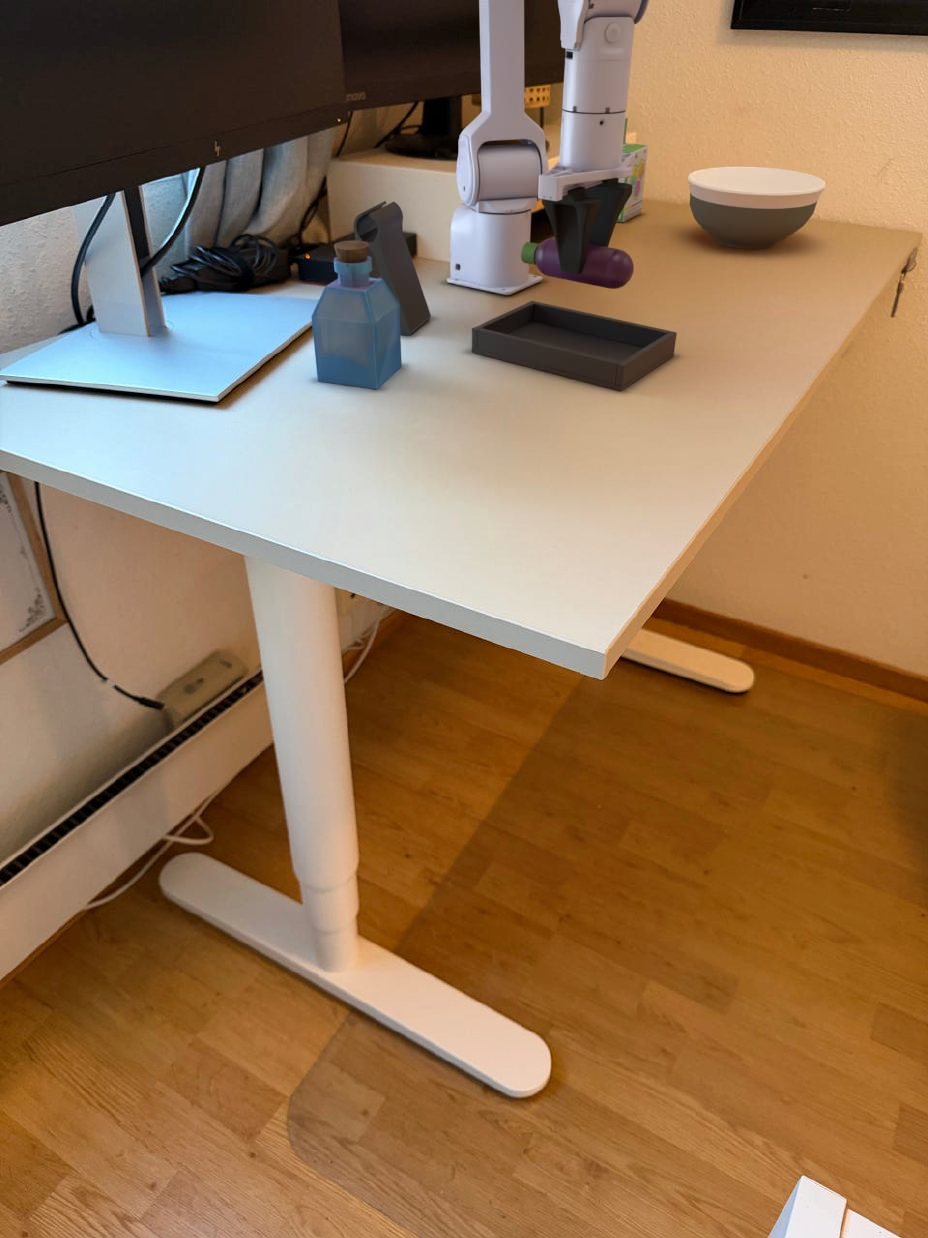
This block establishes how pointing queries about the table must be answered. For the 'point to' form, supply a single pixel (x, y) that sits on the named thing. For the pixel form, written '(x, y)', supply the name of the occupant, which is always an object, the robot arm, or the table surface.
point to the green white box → (634, 178)
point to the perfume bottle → (356, 323)
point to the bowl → (752, 203)
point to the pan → (575, 344)
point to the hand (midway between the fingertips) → (581, 267)
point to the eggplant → (598, 270)
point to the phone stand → (393, 262)
